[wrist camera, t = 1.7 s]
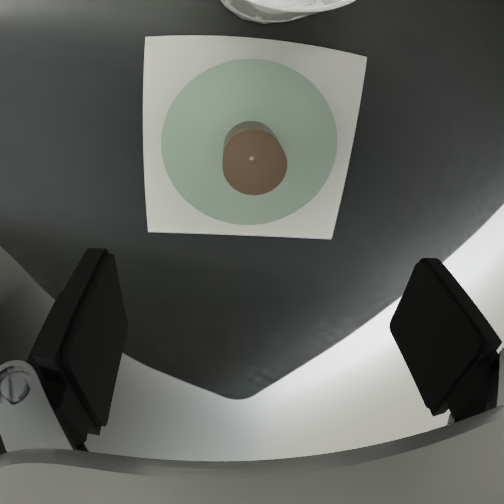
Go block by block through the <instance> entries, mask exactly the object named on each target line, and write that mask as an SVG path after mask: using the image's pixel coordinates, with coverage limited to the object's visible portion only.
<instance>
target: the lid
mask: <svg viewBox="0 0 504 504" xmlns="http://www.w3.org/2000/svg"><path fill="white" fill-rule="evenodd" d="M161 150H162V158H163V162H164V166H165V169H166V172H167V174H168V177H169V179H170V180H171V182H172V184H173V186H174V187H175V189H176V190H177V191H178V193H179V194H180V195H181V196H182V197H183V198H184V199H185V200H186V201H187V202H188V203H189V204H190V205H191V206H193V207H194V208H195V209H197V210H198V211H200V212H202V213H203V214H205V215H207V216H209V217H211V218H214V219H217V220H219V221H222V222H227V223H231V224H239V225H257V224H265V223H269V222H273V221H276V220H279V219H282V218H285V217H287V216H289V215H291V214H293V213H295V212H296V211H298V210H299V209H301V208H302V207H304V206H305V205H306V204H307V203H308V202H310V201H311V200H312V199H313V198H314V197H315V196H316V195H317V194H318V192H319V191H320V190H321V188H322V187H323V186H324V184H325V183H326V181H327V179H328V177H329V175H330V173H331V171H332V168H333V166H334V162H335V158H336V153H337V129H336V123H335V120H334V117H333V113H332V111H331V109H330V107H329V105H328V103H327V101H326V99H325V98H324V96H323V95H322V93H321V92H320V91H319V90H318V89H317V88H316V86H315V85H314V84H313V83H312V82H310V81H309V80H308V79H307V78H306V77H305V76H303V75H301V74H300V73H298V72H297V71H295V70H293V69H291V68H289V67H287V66H285V65H282V64H279V63H276V62H272V61H267V60H260V59H242V60H233V61H229V62H226V63H222V64H219V65H217V66H214V67H212V68H210V69H208V70H206V71H204V72H203V73H201V74H199V75H198V76H196V77H195V78H194V79H193V80H191V81H190V82H189V83H188V84H187V85H186V86H185V87H184V88H183V89H182V90H181V91H180V93H179V94H178V95H177V97H176V98H175V99H174V101H173V103H172V105H171V106H170V108H169V110H168V113H167V115H166V118H165V121H164V125H163V130H162V137H161Z"/></svg>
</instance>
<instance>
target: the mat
mask: <svg viewBox="0 0 504 504" xmlns="http://www.w3.org/2000/svg"><path fill="white" fill-rule="evenodd" d="M242 59H260V60H267V61H272V62H276V63H279V64H282V65H285V66H287V67H289V68H291V69H293V70H295V71H297V72H298V73H300V74H301V75H303V76H305V77H306V78H307V79H308V80H309V81H310V82H312V83H313V84H314V85H315V86H316V88H317V89H318V90H319V91H320V92H321V93H322V95H323V96H324V98H325V99H326V101H327V103H328V105H329V107H330V109H331V111H332V113H333V117H334V120H335V123H336V129H337V153H336V158H335V162H334V166H333V168H332V171H331V173H330V175H329V177H328V179H327V181H326V183H325V184H324V186H323V187H322V188H321V190H320V191H319V192H318V194H317V195H316V196H315V197H314V198H313V199H312V200H311V201H310V202H308V203H307V204H306V205H305V206H304V207H302V208H301V209H299V210H298V211H296V212H295V213H293V214H291V215H289V216H287V217H285V218H282V219H279V220H276V221H273V222H269V223H265V224H257V225H239V224H231V223H227V222H222V221H219V220H217V219H214V218H211V217H209V216H207V215H205V214H203V213H202V212H200V211H198V210H197V209H195V208H194V207H193V206H191V205H190V204H189V203H188V202H187V201H186V200H185V199H184V198H183V197H182V196H181V195H180V194H179V193H178V191H177V190H176V189H175V187H174V186H173V184H172V182H171V180H170V179H169V177H168V174H167V172H166V169H165V166H164V162H163V158H162V150H161V137H162V130H163V125H164V121H165V118H166V115H167V113H168V110H169V108H170V106H171V105H172V103H173V101H174V99H175V98H176V97H177V95H178V94H179V93H180V91H181V90H182V89H183V88H184V87H185V86H186V85H187V84H188V83H189V82H190V81H191V80H193V79H194V78H195V77H196V76H198V75H199V74H201V73H203V72H204V71H206V70H208V69H210V68H212V67H214V66H217V65H219V64H222V63H226V62H229V61H233V60H242ZM366 62H367V57H365V56H361V55H357V54H353V53H348V52H344V51H339V50H334V49H329V48H324V47H318V46H313V45H307V44H300V43H293V42H286V41H278V40H270V39H260V38H249V37H234V36H211V35H173V36H150V37H145V51H144V75H143V154H144V179H145V197H146V212H147V225H148V232H163V233H193V234H221V235H247V236H271V237H293V238H315V239H332V235H333V231H334V227H335V223H336V219H337V215H338V210H339V206H340V202H341V197H342V193H343V188H344V184H345V179H346V174H347V170H348V165H349V160H350V155H351V150H352V145H353V140H354V135H355V129H356V124H357V118H358V113H359V107H360V101H361V95H362V89H363V82H364V76H365V69H366Z"/></svg>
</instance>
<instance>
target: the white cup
mask: <svg viewBox="0 0 504 504" xmlns="http://www.w3.org/2000/svg"><path fill="white" fill-rule="evenodd" d="M220 1H221V2H222V4H223V6H224V7H225V8H227V9H228V10H230V11H231V12H233V13H234V14H236V15H237V16H238V17H240V18H241V19H244V20H249V21H253V22H258V23H262V24H269V23H276V22H286V21H291V20H295V19H299V18H304V17H307V16H310V15H314V14H317V13H320V12H324V11H328V10H332V9H336V8H339V7H342V6H345V5H348V4H350V3H352V2H354V1H356V0H220Z"/></svg>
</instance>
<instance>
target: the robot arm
mask: <svg viewBox="0 0 504 504" xmlns="http://www.w3.org/2000/svg"><path fill="white" fill-rule="evenodd" d="M390 330H391V333H392V335H393V337H394V339H395V341H396V343H397V345H398V347H399V349H400V351H401V353H402V355H403V357H404V360H405V362H406V364H407V366H408V368H409V370H410V372H411V374H412V376H413V379H414V381H415V383H416V385H417V387H418V390H419V392H420V394H421V396H422V399H423V400H424V403H425V405H426V407H427V408H429V409H430V411H431V413H432V415H433V416H436V415H439V414H442V413H445V412H446V411H447V410H448V409H449V410H450V412H451V413H450V416H449V420H448V424H447V426H444V427H441V428H438V429H434V430H431V431H428V432H425V433H421V434H417V435H414V436H410V437H406V438H402V439H398V440H394V441H390V442H386V443H382V444H377V445H372V446H368V447H363V448H358V449H352V450H347V451H341V452H335V453H328V454H321V455H313V456H305V457H296V458H286V459H274V460H259V461H230V462H208V461H207V462H206V461H179V460H160V459H147V458H137V457H127V456H119V455H111V454H102V453H94V452H89V450H88V449H87V447H86V446H85V444H84V442H85V441H86V439H87V434H88V433H89V434H95V435H100V430H101V426H106V424H107V422H108V416H109V411H110V406H111V401H112V396H113V391H114V387H115V382H116V378H117V373H118V369H119V365H120V360H121V356H122V352H123V348H124V344H125V340H126V336H127V331H128V322H127V318H126V313H125V309H124V304H123V299H122V294H121V289H120V284H119V279H118V274H117V268H116V262H115V257H114V255H113V254H109V252H108V250H107V249H104V248H88V249H87V250H86V251H85V253H84V255H83V257H82V258H81V260H80V262H79V264H78V265H77V267H76V269H75V271H74V272H73V274H72V276H71V278H70V280H69V282H68V283H67V285H66V287H65V289H64V291H63V292H61V293H60V294H59V295H58V297H57V299H56V300H55V302H54V304H53V306H52V308H51V310H50V312H49V314H48V316H47V318H46V320H45V322H44V324H43V326H42V329H41V331H40V333H39V335H38V337H37V339H36V341H35V344H34V346H33V348H32V350H31V353H30V355H29V357H28V360H27V362H23V361H10V362H7V363H4V364H3V365H1V366H0V504H504V348H503V349H502V350H501V351H500V353H499V354H498V353H497V351H496V350H497V349H498V347H499V346H500V344H501V343H502V341H501V340H500V338H499V337H498V335H497V334H496V333H495V331H494V330H493V328H492V327H491V325H490V324H489V323H488V321H487V320H486V318H485V317H484V316H483V314H482V313H481V312H480V310H479V309H478V308H477V306H476V305H475V304H474V302H473V301H472V300H471V298H470V297H469V296H468V295H467V293H466V292H465V291H464V289H463V288H462V287H461V286H460V285H459V283H458V282H457V281H456V279H455V278H454V277H453V276H452V274H451V273H450V272H449V271H448V270H447V268H446V267H445V266H444V265H443V264H442V262H441V261H440V260H439V259H437V258H422V259H421V260H420V261H419V262H418V263H417V264H416V265H415V267H414V270H413V272H412V274H411V277H410V279H409V282H408V284H407V286H406V289H405V291H404V293H403V296H402V298H401V300H400V302H399V305H398V307H397V309H396V311H395V313H394V315H393V317H392V320H391V323H390Z"/></svg>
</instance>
